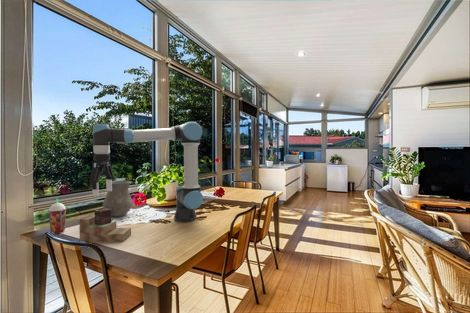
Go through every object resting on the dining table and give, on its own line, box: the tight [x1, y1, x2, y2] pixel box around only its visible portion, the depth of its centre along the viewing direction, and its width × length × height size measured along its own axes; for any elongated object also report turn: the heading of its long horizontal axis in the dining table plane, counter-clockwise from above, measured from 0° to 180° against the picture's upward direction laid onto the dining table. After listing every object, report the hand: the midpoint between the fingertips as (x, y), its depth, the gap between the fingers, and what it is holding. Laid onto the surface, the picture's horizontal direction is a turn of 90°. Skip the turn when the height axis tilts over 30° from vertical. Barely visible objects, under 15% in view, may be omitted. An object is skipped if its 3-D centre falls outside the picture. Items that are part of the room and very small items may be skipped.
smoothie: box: [48, 197, 67, 234], centre depth 137 cm, size 8×8×20 cm
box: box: [93, 207, 113, 225], centre depth 126 cm, size 6×6×7 cm
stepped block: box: [78, 213, 132, 243], centre depth 126 cm, size 22×10×12 cm, turn 92°
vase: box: [102, 180, 134, 218], centre depth 172 cm, size 20×19×25 cm
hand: (102, 193), depth 126 cm, fingers open, 13 cm apart
